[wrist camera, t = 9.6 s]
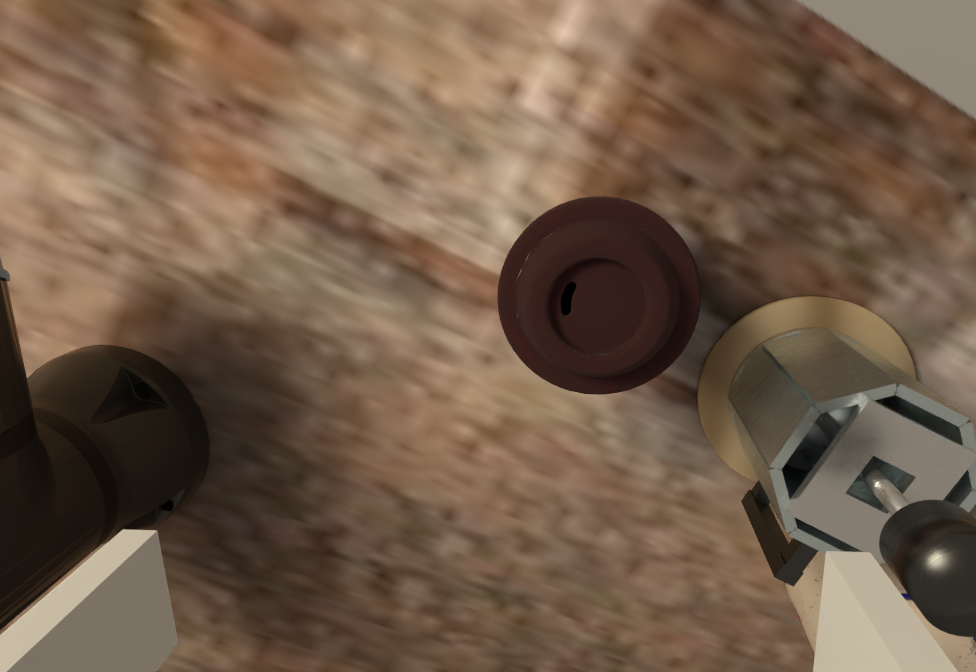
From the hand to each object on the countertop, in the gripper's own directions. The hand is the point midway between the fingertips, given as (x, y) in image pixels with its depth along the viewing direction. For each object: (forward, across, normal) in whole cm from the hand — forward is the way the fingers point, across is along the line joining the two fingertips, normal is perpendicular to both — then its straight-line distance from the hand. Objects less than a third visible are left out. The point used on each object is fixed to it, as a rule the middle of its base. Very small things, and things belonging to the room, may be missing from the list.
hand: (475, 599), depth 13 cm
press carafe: (+34, +17, -10) cm, 40 cm away
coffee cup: (+35, +4, +1) cm, 36 cm away
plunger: (+32, +18, -9) cm, 37 cm away
